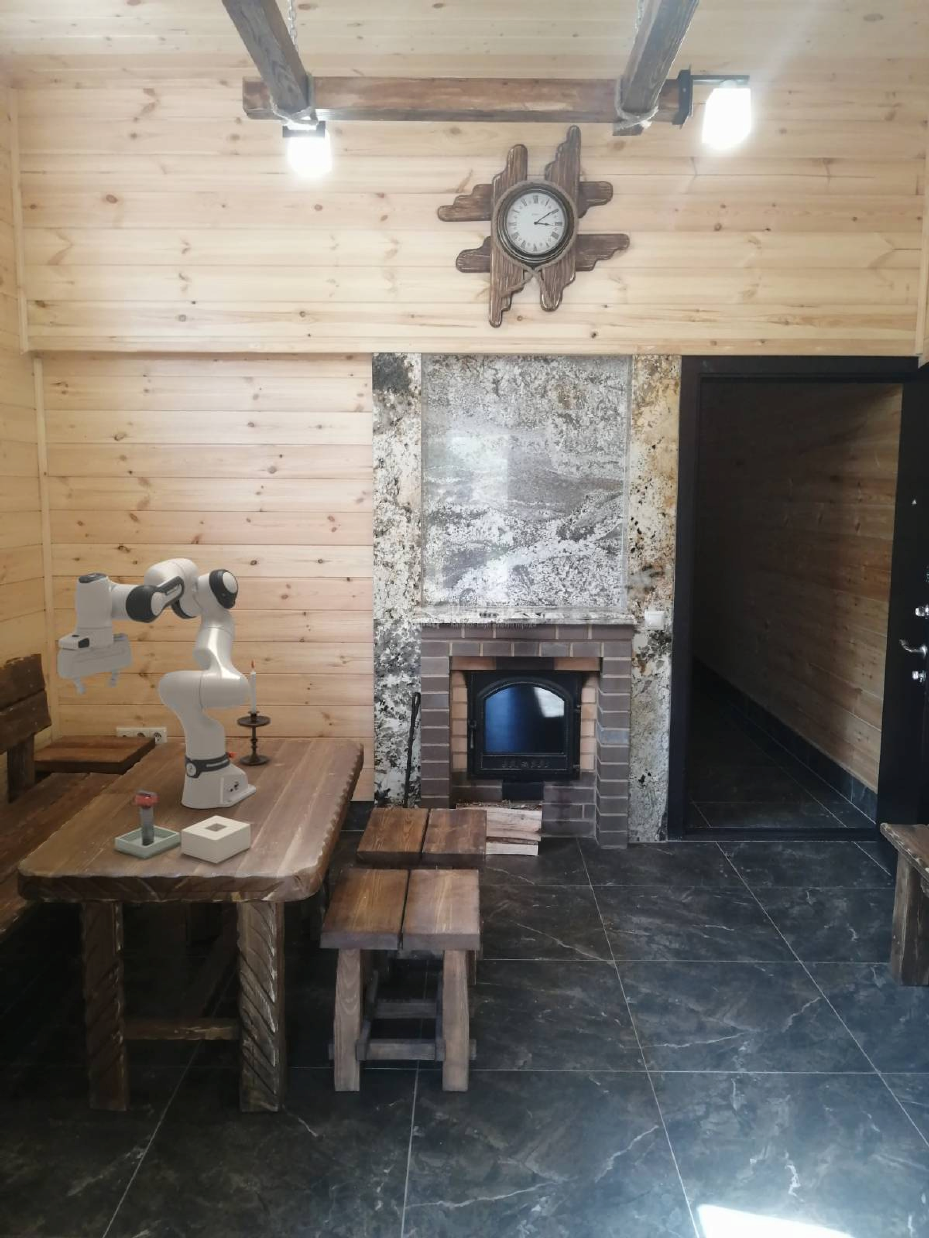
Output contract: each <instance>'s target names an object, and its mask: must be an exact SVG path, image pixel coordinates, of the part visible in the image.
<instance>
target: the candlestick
mask: <svg viewBox="0 0 929 1238" xmlns="http://www.w3.org/2000/svg"><path fill="white" fill-rule="evenodd" d="M250 664H251V672H250V673H249V678H250V679H249V685H250V710H249V711H248V712H247V714H250V715H246V716H242V717H239V718H238V719H237V720H236V722H237V723H236V724H237V726H239V727H242V728H243V727H244V728H250V729H251V738H249V742H250V743H251V745H250V749H251V752H252V753H251V754H250V755H245V756H243V757H241V758H240V764H241V765H244V766H250V767H251V766H253V767H255V766H262V765H265V764H267V763H268V762H269V757H268V756H267V755H262V754H258V753H257V748H258V749H259V745H257V743H258V742H259V738H258V737H257V728H259V727H260V728H261V727H266V726H268V725H270V724H271V718H270V717H269V716H266V715H258V714H259V713H260V711H259V710H257V672H256V671H255V669H254V668H255V665H254V661H253V660H251V663H250Z"/></svg>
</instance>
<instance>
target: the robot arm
mask: <svg viewBox="0 0 929 1238" xmlns="http://www.w3.org/2000/svg"><path fill="white" fill-rule="evenodd" d="M199 572H200V571H199V569H198V566H197V565H196V564H195V563H194V562H193V561H192V560H191V559H188V558H183V557H180V558H178V557H177V558H171V559H170V558H169V559H167V560H163V561H160V562H158V563H156V564H154V565H152V566H151V567H149V568H148V569H146V572H145V574H144V575H143V584H127V583H117V582H114V581H112V580H111V579H110V577H109V576H108V574H106V573H101V572H95V573H87V574H84V575H81V576H80V577H79V578H77V580H76V584H75V589H74V591H75V592H74V607H75V608H74V609H75V612H76V618H77V620H76V623H75V630H74V631H72V632H70V633H69V634H67V635H65V636H63V637H61V638H60V639H59V640H58V643H57V644H58V646H59V648H60V650H58V651H59V652H58V654H57V674H58V676H59V677H60V678H62V679H65V680H71V679H72V682H73V685H75V687H76V693H77V694H78V695H79V694H80V695H82V694H86V693H87V686H86V685H83V683H82V681H83V677H86V676H92V675H97V674H100V673H106V672H111V673H112V674H111V676H110V678H109V679H107V684H108V685H107V686H108V687H109V688H110V687H112V688H113V687H117V686H118V679H119V677H120V676H121V672H122V671H121V669H125V668H130V667H131V666H132V664H133V654H132V647H131V644H130V637H129V636H128V634H126V633H124V632H119V633H114V623H113V621H126V622H127V621H129V622H137V623H144V624H150V623H153V622H154V621H156V620H157V619H158V618H159V617H160V615H162V613H163V611H165V610H166V609H167V608H168V607H170V608H171V610H172V612H173V613H174V614H175V615H176V616H177V617H178V618H180V619H183V620H190V619H194V618H197V617H199V616H200V624H199V627H198V629H197V633H196V637H195V641H194V646H193V651H192V658H193V661H194V663H195V664H196V666H197V667H199V668H200V669H201V670H187V669H186V670H176V671H171V672H167V673H164V675H163V676H162V677H161V678H160V680H159V682H158V686H157V694H158V697H159V700H160V702H161V703H162V705H164V706H166V707H167V708H168V709H170V710H171V711H172V712H173V713H174V715H176V716H177V718H178V720H179V721H180V723H181V725H182V728H183V731H184V741H185V754H184V769H185V774H184V786H183V791H182V799H181V804H182V805H183V806H185V807H187V808H192V809H213V808H229V807H232V806H234V805H236V804H237V803H239V802H241V801H242V800H244V799H245V798H247V797H249V796H251V795H252V794H254V793H256V792H257V788H256V787H255V785H252V784H249V782H248V775H247V773H246V772H245V771H244V770H243V769H242V768H240V767H238V766H236V765H235V764H233V763H232V762H231V760H230V759H232V760H233V759H236V757H237V755H238V754H237V752H236V751H230V750H229V751H227V750H226V730H225V728H224V726H223V725H222V723H221V722H219V721H218V720H216V719H214V718H212V717H210V716H209V714H207V712H206V711H205V709H209V710H211V709H213V710H214V709H216V710H218V709H222V710H223V709H224V710H225V709H226V710H227V709H231V708H237V707H242V706H243V705H244V704H245V703H246V702H247V701H248V699H249V697H250V695H251V693H250V681H249V680H248V678H247V677H246V675H245V674H243V673H242V672H240V671H239V670H238V669H237V668H236V667H235V666H234V665H233V662H232V655H233V654H232V653H233V646H234V641H235V637H236V636H235V635H236V621H235V617H234V615H233V614H232V612H230V610H231V609H232V608H233V607H234V606H236V599H237V598H238V593H239V584H238V579H236V577H235V576H234V574H233V573H232V572H231V571H229V570H227V569H225V568H221V569H215V570H212V571H211V572H209V573H205V574H202V575H199V574H200V573H199Z"/></svg>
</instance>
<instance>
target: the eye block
mask: <svg viewBox="0 0 929 1238" xmlns="http://www.w3.org/2000/svg"><path fill="white" fill-rule="evenodd" d="M180 844H181V853H182V854H185V855H187V856H190V857H191V856H192V857H195V858H197V859H201V860H204V861H207V862H211V863H213V864H216V865H217V864H219V863H220V862H223V861H225V860H228V859H229V858H230V857H233V856H235V855H237V854H240V853H241V852H243V851H245V850H247V849H249V848H251V846H252V845H251V824H249V823H246V822H241V821H239V820H234V819H231V818H227V817H223V816H220V815H214V816H212V817H209V818H207V819H205V820H202V821H199V822H197V823H195V824H193V825H190V826H188V827H185V828H184V829H181V830H180Z"/></svg>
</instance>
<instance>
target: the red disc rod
mask: <svg viewBox="0 0 929 1238" xmlns="http://www.w3.org/2000/svg"><path fill="white" fill-rule="evenodd" d="M134 797H135V799H134V800H135V805H136V806H137V807H140V809H139V810H140V828H141V833H142V845H143V846H148V845H151V844H153V843H154V826H155V824H154V823H155V822H154V806H155V805H156V804H157V803H158V793H156V792H153V791H147V790H143V789H141V790H138V791H137V794H136V795H135V796H134Z"/></svg>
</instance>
